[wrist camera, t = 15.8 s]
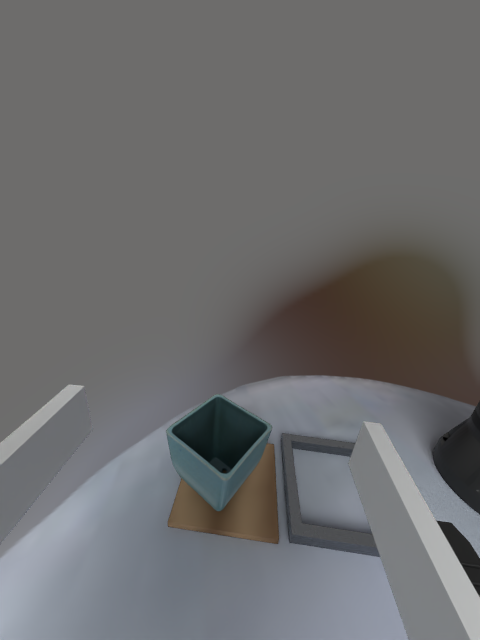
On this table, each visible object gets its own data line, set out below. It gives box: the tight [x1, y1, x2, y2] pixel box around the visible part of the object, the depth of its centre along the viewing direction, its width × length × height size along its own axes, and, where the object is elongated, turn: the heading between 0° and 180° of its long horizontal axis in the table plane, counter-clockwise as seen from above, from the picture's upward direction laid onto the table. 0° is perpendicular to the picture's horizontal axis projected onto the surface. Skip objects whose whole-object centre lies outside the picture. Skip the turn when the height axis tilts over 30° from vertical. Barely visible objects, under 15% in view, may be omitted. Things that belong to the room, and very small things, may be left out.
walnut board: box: [168, 444, 279, 544], centre depth 32 cm, size 12×12×1 cm
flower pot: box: [166, 394, 272, 511], centre depth 29 cm, size 9×9×9 cm
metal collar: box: [281, 433, 380, 557], centre depth 32 cm, size 13×13×2 cm
